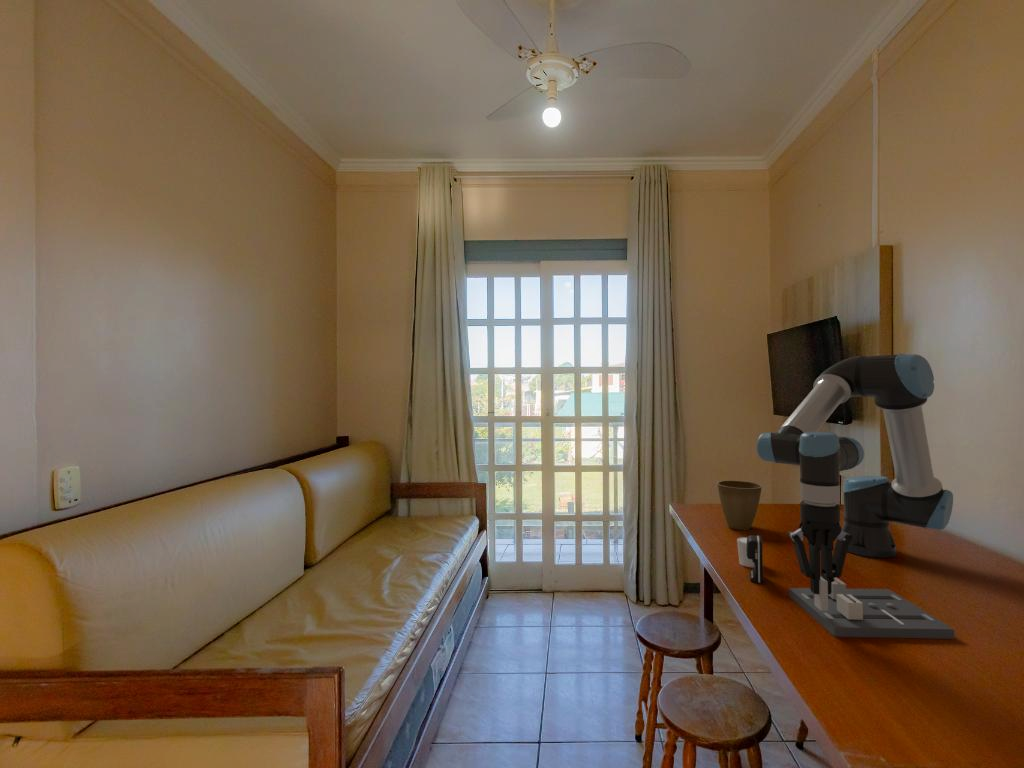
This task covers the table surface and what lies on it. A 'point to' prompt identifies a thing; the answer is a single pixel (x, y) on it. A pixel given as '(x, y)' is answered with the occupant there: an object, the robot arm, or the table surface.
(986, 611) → the table surface
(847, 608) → the cream fader
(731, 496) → the plant pot
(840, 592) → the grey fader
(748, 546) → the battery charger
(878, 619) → the console
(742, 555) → the grey rimmed cylinder
